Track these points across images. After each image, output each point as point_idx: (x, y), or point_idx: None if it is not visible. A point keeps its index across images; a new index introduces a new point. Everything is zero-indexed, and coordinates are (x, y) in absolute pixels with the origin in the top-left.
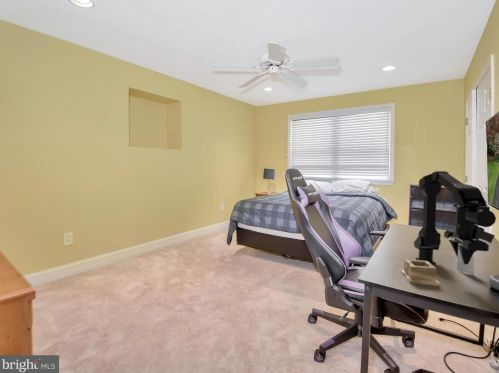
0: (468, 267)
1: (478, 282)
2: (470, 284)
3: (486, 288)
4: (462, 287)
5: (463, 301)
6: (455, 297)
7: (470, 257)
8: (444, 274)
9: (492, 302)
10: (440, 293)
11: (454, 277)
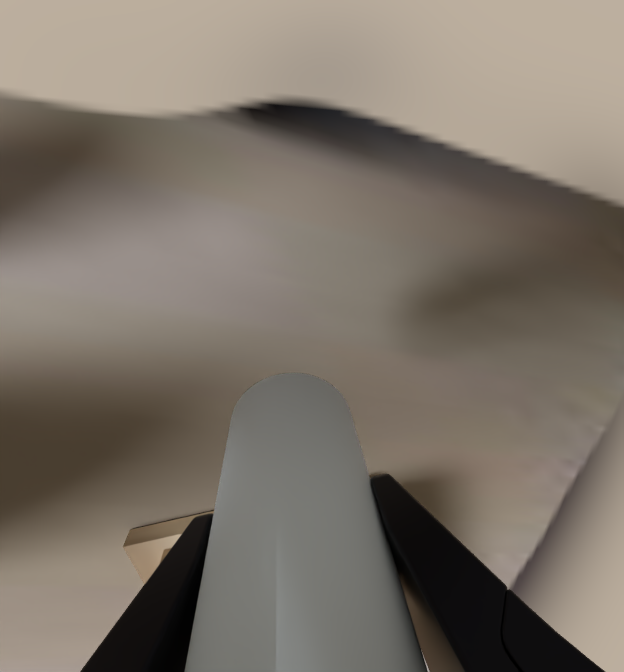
0: (336, 419)
1: (101, 179)
2: (211, 269)
3: (249, 148)
4: (322, 346)
5: (586, 385)
6: (533, 418)
7: (488, 582)
8: (57, 426)
9: (566, 200)
10: (492, 484)
11: (89, 364)
